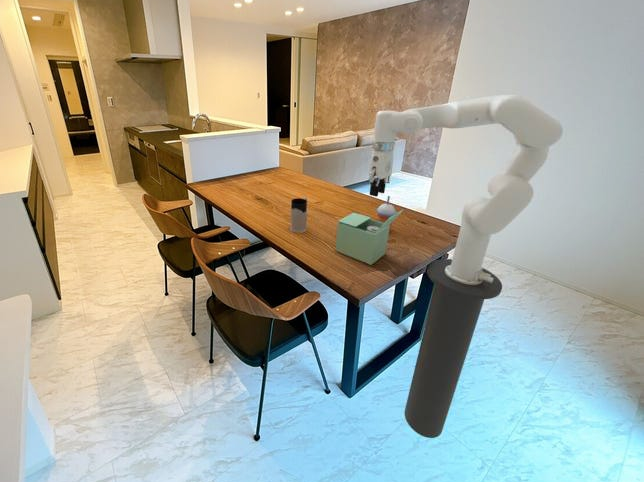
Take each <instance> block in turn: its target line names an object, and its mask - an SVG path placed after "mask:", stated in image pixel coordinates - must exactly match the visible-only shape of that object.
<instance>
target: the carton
mask: <svg viewBox="0 0 644 482" xmlns="http://www.w3.org/2000/svg"><path fill="white" fill-rule="evenodd" d="M383 224H384V223H382V222H379V221H377V220H375V219H373V218H372V217H371V216H367V215H364V214H360V213H358V212H357V213H356V212H352V213H350V214H348V215H346V216H345V217H343V218H341V219H338V220H337V226H336V239H335V252H338V253H340V254H343V255H345V256H348V257H349V258H353V259H355V260H357V261H360V262H362V263H365V264H367V265H370V266H372V265H373V264H374V263H376V262H377V261H378V260H379V259H381V258H382V257H383V256H385V254H387V253H386V252H387V248H388V247H387V246H388V241H389V234H390V231H389V229H390V230H391V228H390V225H388V226H387V227H385V228H384V229H382V230H381V231H379V232H378V233H376V234H373V233H370V232H367V231H366V229H367V227H368V226H376V227H379V228H380V227H381V226H382V225H383Z"/></svg>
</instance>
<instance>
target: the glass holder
mask: <svg viewBox="0 0 644 482" xmlns="http://www.w3.org/2000/svg"><path fill="white" fill-rule="evenodd" d="M290 201H291V203H290V227H289V231H291V232H292V233H297V234H302V233H305V232H307V231H308V227H307V219H308V209H307V208H308V198H307V197H304V198H301V197H300V198H299V197H298V198H297V197H296V198H293V199H291V200H290Z"/></svg>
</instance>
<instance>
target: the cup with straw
mask: <svg viewBox="0 0 644 482" xmlns="http://www.w3.org/2000/svg"><path fill="white" fill-rule="evenodd" d="M390 198H391V196H390V195H387V200H386V203H382V204H381V205H380V206H379V207H377V208H376V221H379V222H382V223H385V222H386V221H387V220H388V218H390V217H392V216H393V215H395V214H396V213H397V210H396V209H395V207H394V206H393V205H392V204H390ZM393 222H394V221H393ZM393 222H392V223H391V224H390V229H389V232H391V228H392V226H393Z"/></svg>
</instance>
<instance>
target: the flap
mask: <svg viewBox="0 0 644 482" xmlns="http://www.w3.org/2000/svg"><path fill="white" fill-rule="evenodd" d="M402 212H404V209H401V210H399V211H398V212H396V214H395V215H393V216H392V217H390V218H388V220H387V221H386V222H385V223H384V224H383V225H382V226H381V227H380V228H379V229H378V230H377V232H376V233H378V232H379V231H381V230H382V229H384V228H385V227H387V226H388V225H390V224H391V223H392V222H394V221H395V220H396V219H397V218H398V217H399V216H400V214H401V213H402ZM392 224H393V223H392Z"/></svg>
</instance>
